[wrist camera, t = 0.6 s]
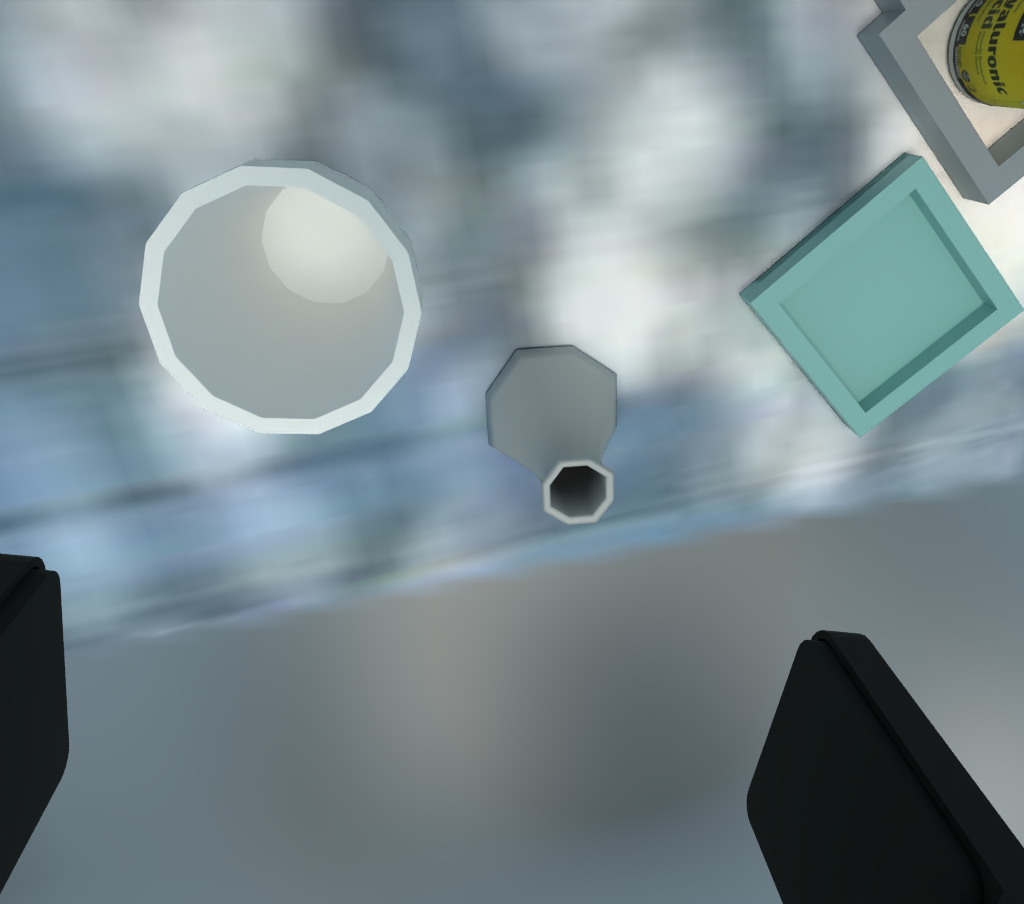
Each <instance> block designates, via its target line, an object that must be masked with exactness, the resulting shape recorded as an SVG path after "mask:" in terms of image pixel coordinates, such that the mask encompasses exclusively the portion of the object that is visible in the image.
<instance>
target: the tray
mask: <svg viewBox="0 0 1024 904" xmlns="http://www.w3.org/2000/svg"><path fill="white" fill-rule="evenodd" d="M739 295H740V296H741V297H742V298H743V300H744V301H745V302H746V303H747V305H748V306H749V307H750V308H751V309H752V311H753V312H754V313H755V314H756V316H757V317H758V318H759V319H760V321H761V322H762V323H763V324H764V325H765V327H766V328H767V329H768V330H769V332H770V333H771V334H772V335H773V336H774V338H775V339H776V340H777V341H778V343H779V344H780V345H781V346H782V348H783V349H784V350H785V351H786V352H787V354H788V355H789V356H790V357H791V359H792V360H793V361H794V362H795V363H796V365H797V366H798V367H799V368H800V370H801V371H802V372H803V373H804V374H805V376H806V377H807V378H808V379H809V381H810V382H811V383H812V384H813V386H814V387H815V388H816V389H817V390H818V392H819V393H820V394H821V395H822V397H823V398H824V399H825V400H826V401H827V403H828V404H829V405H830V406H831V408H832V409H833V410H834V411H835V413H836V414H837V415H838V416H839V417H840V419H841V420H842V421H843V422H844V424H845V425H846V426H847V427H848V428H850V429H851V430H852V431H853V432H854V433H855V434H856V435H857V436H859V437H860V438H861V437H862V436H863V435H864V434H866V433H867V432H868V431H870V430H871V429H872V428H873V427H875V426H876V425H877V424H879V423H880V422H881V421H882V420H884V419H885V418H886V417H888V416H889V415H890V414H891V413H893V412H894V411H895V410H896V409H898V408H899V407H900V406H902V405H903V404H904V403H905V402H907V401H908V400H909V399H911V398H912V397H913V396H914V395H916V394H917V393H918V392H920V391H921V390H922V389H923V388H925V387H926V386H927V385H929V384H930V383H931V382H932V381H934V380H935V379H936V378H938V377H939V376H940V375H941V374H943V373H944V372H945V371H947V370H948V369H949V368H950V367H952V366H953V365H954V364H956V363H957V362H958V361H959V360H961V359H962V358H963V357H965V356H966V355H967V354H968V353H970V352H971V351H972V350H974V349H975V348H976V347H977V346H979V345H980V344H981V343H983V342H984V341H985V340H986V339H988V338H989V337H990V336H991V335H993V334H994V333H995V332H997V331H998V330H999V329H1000V328H1002V327H1003V326H1004V325H1006V324H1007V323H1008V322H1009V321H1011V320H1012V319H1013V318H1015V317H1016V316H1017V315H1018V314H1020V313H1021V312H1022V311H1024V309H1023V307H1022V306H1021V304H1020V303H1019V301H1018V300H1017V298H1016V297H1015V295H1014V294H1013V292H1012V291H1011V289H1010V288H1009V286H1008V285H1007V283H1006V282H1005V280H1004V279H1003V277H1002V276H1001V274H1000V273H999V271H998V270H997V268H996V267H995V265H994V264H993V262H992V261H991V259H990V258H989V256H988V255H987V253H986V251H985V250H984V248H983V247H982V245H981V244H980V242H979V241H978V239H977V238H976V236H975V235H974V233H973V232H972V230H971V229H970V227H969V226H968V224H967V223H966V221H965V220H964V218H963V217H962V215H961V214H960V212H959V211H958V209H957V208H956V206H955V205H954V203H953V202H952V200H951V199H950V197H949V196H948V194H947V193H946V191H945V190H944V188H943V187H942V185H941V184H940V182H939V181H938V179H937V178H936V176H935V175H934V173H933V172H932V170H931V169H930V167H929V166H928V164H927V163H926V161H925V160H924V158H923V157H922V156H916V155H911V154H906V153H903V154H902V155H901V156H900V157H899V158H898V159H896V160H895V161H894V162H893V163H892V164H891V165H889V166H888V167H887V168H886V169H885V170H884V171H882V172H881V173H880V174H879V175H878V176H876V177H875V178H874V179H873V180H872V181H871V182H869V183H868V184H867V185H866V186H865V187H864V188H862V189H861V190H860V191H859V192H858V193H857V194H855V195H854V196H853V197H852V198H851V199H850V200H848V201H847V202H846V203H845V204H844V205H843V206H841V207H840V208H839V209H838V210H837V211H836V212H834V213H833V214H832V215H831V216H830V217H829V218H827V219H826V220H825V221H824V222H823V223H822V224H820V225H819V226H818V227H817V228H816V229H815V230H813V231H812V232H811V233H810V234H809V235H808V236H806V237H805V238H804V239H803V240H802V241H801V242H799V243H798V244H797V245H796V246H795V247H794V248H792V249H791V250H790V251H789V252H788V253H787V254H785V255H784V256H783V257H782V258H781V259H780V260H778V261H777V262H776V263H775V264H774V265H773V266H771V267H770V268H769V269H768V270H767V271H766V272H764V273H763V274H762V275H761V276H760V277H759V278H757V279H756V280H755V281H754V282H753V283H752V284H750V285H749V286H748V287H747V288H746V289H745V290H743V291H742V292H741V293H740V294H739Z"/></svg>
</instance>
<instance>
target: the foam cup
mask: <svg viewBox="0 0 1024 904" xmlns="http://www.w3.org/2000/svg"><path fill="white" fill-rule="evenodd" d="M422 305H423V294H422V289H421V285H420V280H419V276H418V271H417V267H416V262H415V258H414V253H413V249H412V244H411V240H410V239H409V237H408V236H407V235H406V233H405V232H404V231H403V229H402V228H401V227H400V226H399V224H398V223H397V222H396V220H395V219H394V218H393V216H392V215H391V214H390V213H389V211H388V210H387V209H386V207H385V206H384V205H383V203H382V202H381V201H380V199H379V198H378V197H377V196H376V194H375V193H374V192H373V191H372V190H370V188H369V187H367V186H365V185H363V184H361V183H359V182H358V181H356V180H354V179H352V178H350V177H348V176H346V175H344V174H343V173H341V172H337V171H334V170H332V169H330V168H329V167H327V166H325V165H323V164H321V163H319V162H317V161H296V160H273V159H253V160H251V161H249V162H247V163H244V164H242V165H240V166H238V167H236V168H234V169H232V170H229V171H227V172H225V173H223V174H221V175H219V176H217V177H214V178H212V179H210V180H208V181H206V182H204V183H202V184H199V185H197V186H195V187H193V188H191V189H189V190H187V191H185V192H183V193H182V194H181V195H180V197H179V198H178V199H177V201H176V202H175V204H174V205H173V206H172V208H171V209H170V211H169V212H168V213H167V215H166V216H165V218H164V219H163V220H162V222H161V223H160V225H159V226H158V227H157V229H156V230H155V232H154V233H153V234H152V236H151V237H150V239H149V240H148V241H147V243H146V248H145V256H144V265H143V274H142V282H141V291H140V300H139V306H140V309H141V312H142V314H143V317H144V320H145V323H146V325H147V328H148V331H149V334H150V337H151V339H152V342H153V345H154V348H155V350H156V353H157V356H158V359H159V361H160V364H161V365H162V366H163V367H164V368H165V369H166V370H167V371H168V372H169V373H170V374H171V375H172V376H173V377H174V378H175V379H176V380H177V381H178V382H179V383H180V384H181V385H182V386H183V388H184V389H185V390H186V391H187V392H188V393H189V394H190V395H191V396H192V397H193V398H194V399H195V400H196V401H197V402H198V403H199V404H200V405H201V406H202V407H203V408H204V409H206V410H208V411H211V412H213V413H215V414H217V415H220V416H222V417H224V418H226V419H229V420H231V421H233V422H236V423H238V424H240V425H242V426H245V427H247V428H249V429H252V430H254V431H256V432H258V433H281V434H321V433H323V432H325V431H328V430H330V429H332V428H335V427H337V426H339V425H342V424H344V423H346V422H349V421H351V420H353V419H356V418H358V417H360V416H363V415H365V414H367V413H370V412H372V410H373V409H374V408H375V407H376V406H377V405H378V404H379V402H380V401H381V400H382V399H383V398H384V397H385V395H386V394H387V393H388V392H389V391H390V390H391V388H392V387H393V386H394V385H395V384H396V383H397V381H398V380H399V379H400V378H401V377H402V376H403V375H404V373H405V372H406V371H407V370H408V368H409V363H410V359H411V355H412V351H413V347H414V343H415V339H416V335H417V331H418V327H419V323H420V318H421V314H422Z"/></svg>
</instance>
